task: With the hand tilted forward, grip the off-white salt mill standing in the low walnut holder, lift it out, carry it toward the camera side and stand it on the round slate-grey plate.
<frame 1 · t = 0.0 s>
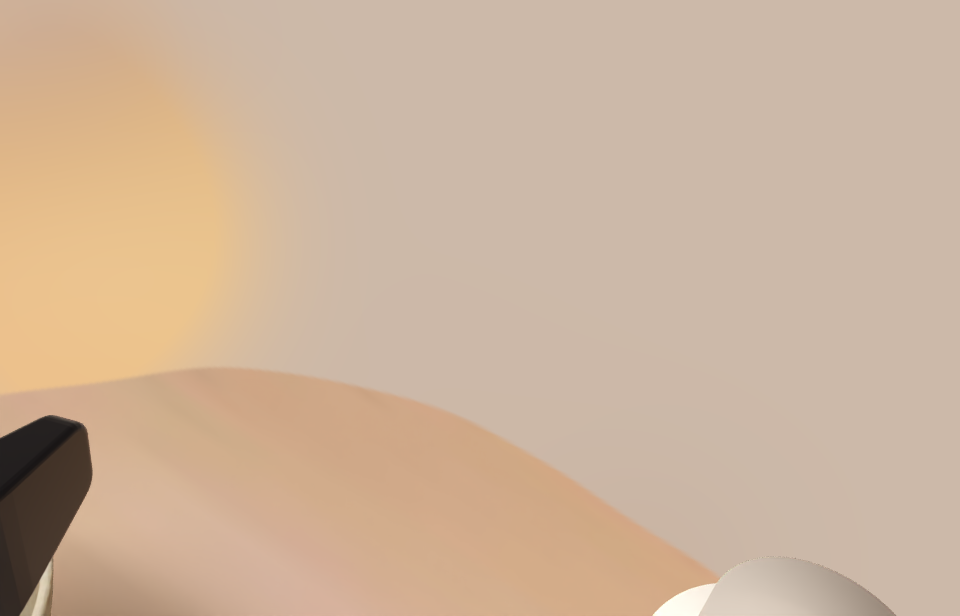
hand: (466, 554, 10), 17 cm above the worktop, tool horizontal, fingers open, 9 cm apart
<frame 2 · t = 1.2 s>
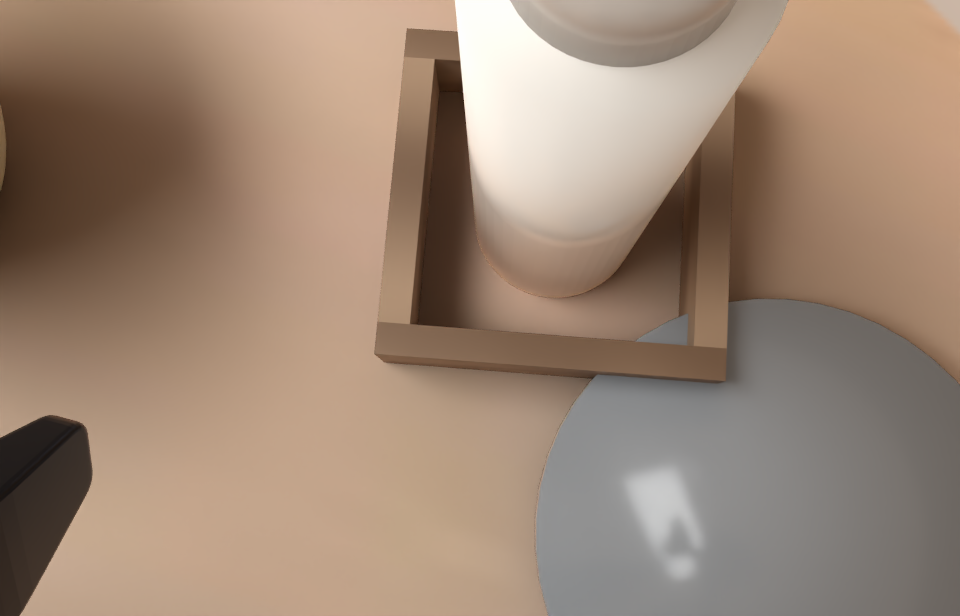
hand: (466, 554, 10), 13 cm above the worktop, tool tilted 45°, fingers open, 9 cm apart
holder: (554, 219, 24), on the worktop
plate: (766, 535, 23), on the worktop
salt mill: (579, 119, 17), in the holder
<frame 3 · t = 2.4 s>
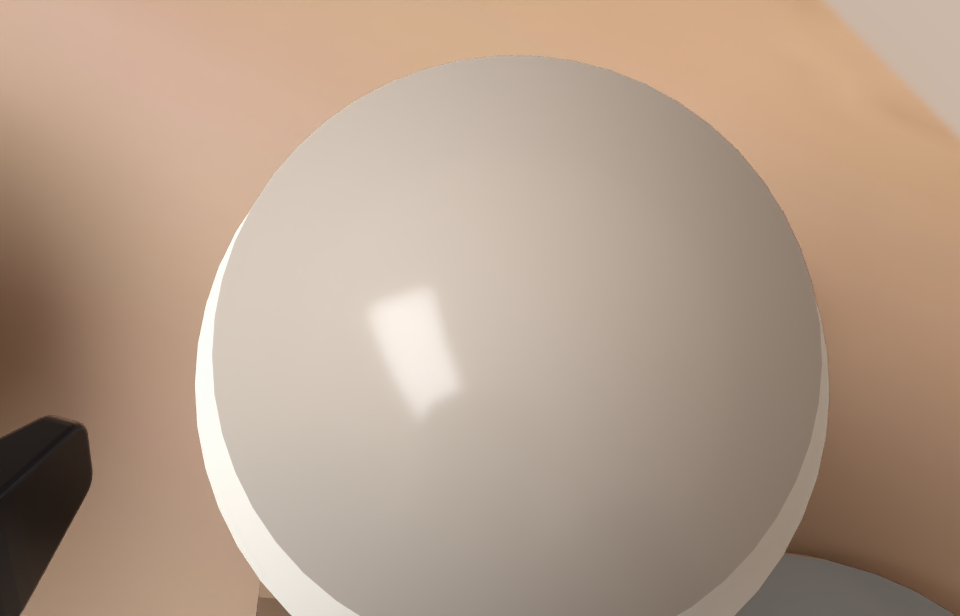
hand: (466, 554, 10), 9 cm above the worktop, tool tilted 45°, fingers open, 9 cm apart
holder: (499, 431, 19), on the worktop
salt mill: (502, 413, 12), in the holder
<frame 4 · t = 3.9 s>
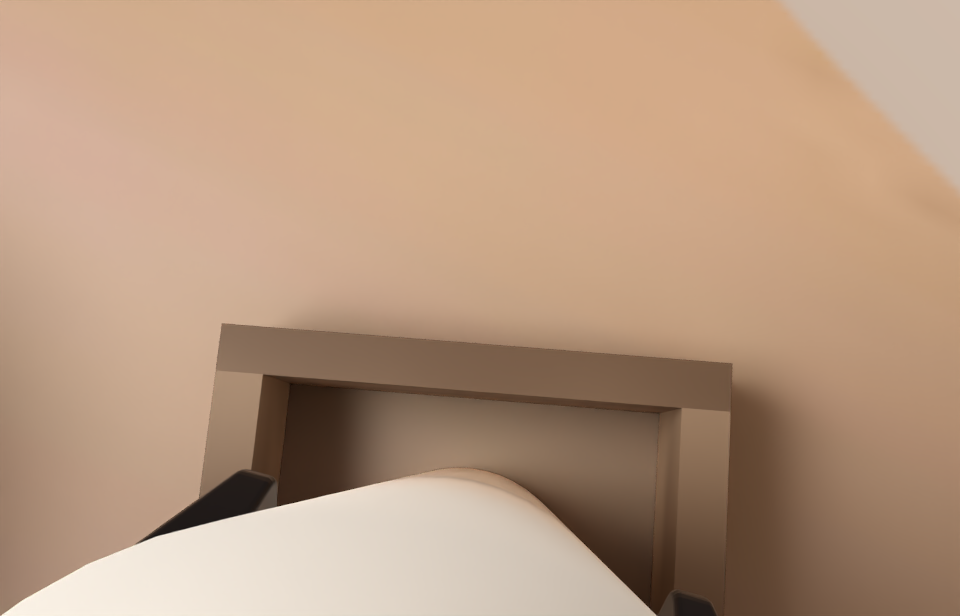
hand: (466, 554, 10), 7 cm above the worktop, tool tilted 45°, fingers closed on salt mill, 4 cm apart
holder: (458, 590, 16), on the worktop
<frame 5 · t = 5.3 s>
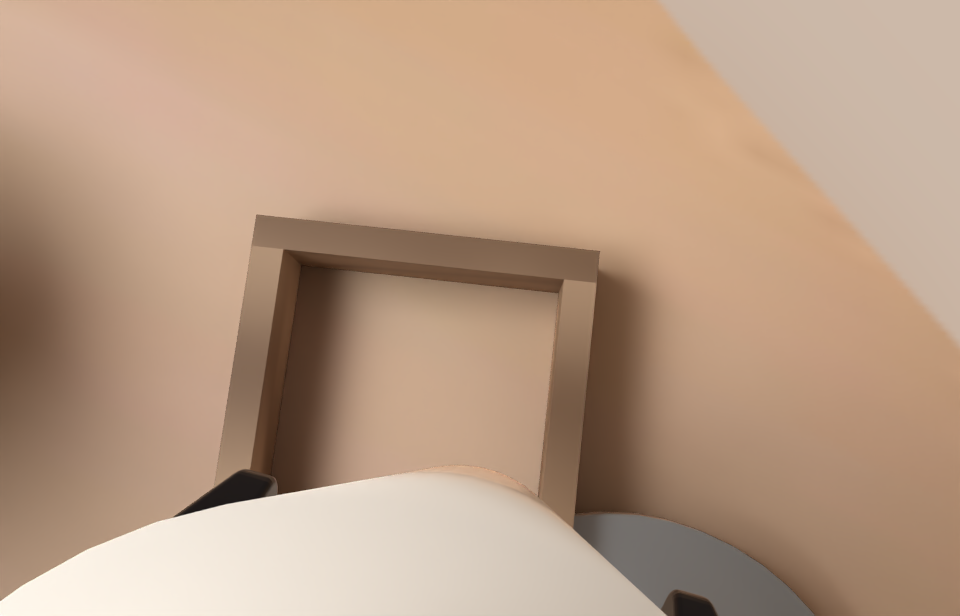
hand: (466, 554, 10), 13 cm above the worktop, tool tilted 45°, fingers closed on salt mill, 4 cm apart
holder: (413, 408, 23), on the worktop
when the fingers open (9 cm above the worktop, at t = 6.8 s): salt mill stays where it is, resting on plate.
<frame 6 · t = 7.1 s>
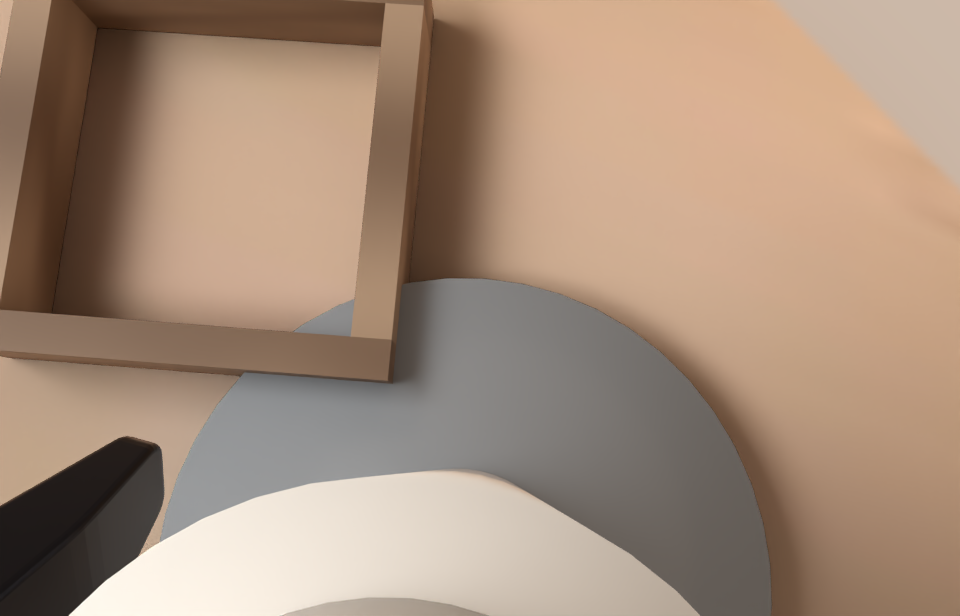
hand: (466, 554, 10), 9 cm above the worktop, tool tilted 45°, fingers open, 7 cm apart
holder: (227, 182, 20), on the worktop
plate: (463, 572, 18), on the worktop
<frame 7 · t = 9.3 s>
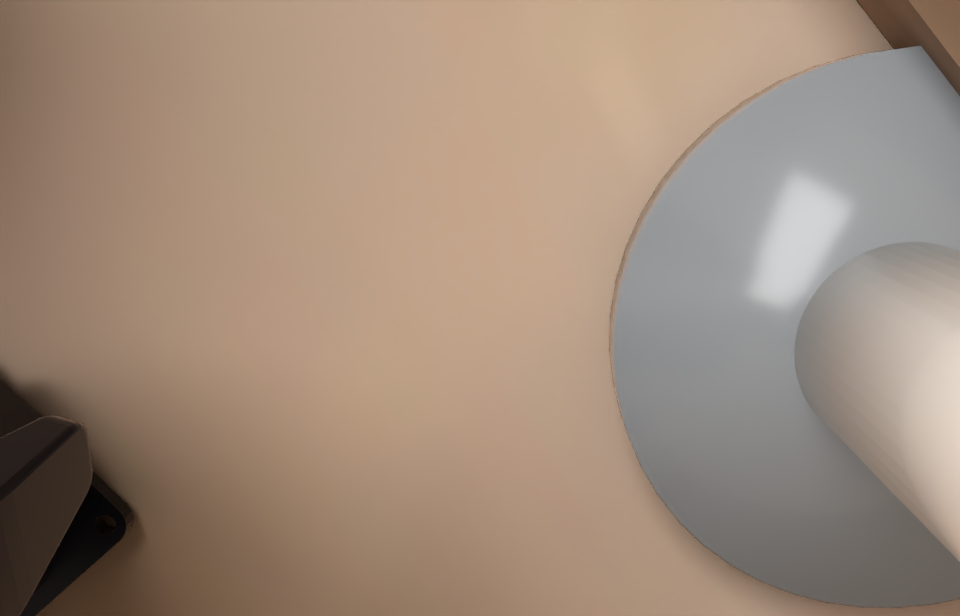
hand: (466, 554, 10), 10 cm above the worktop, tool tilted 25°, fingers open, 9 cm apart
plate: (883, 332, 19), on the worktop
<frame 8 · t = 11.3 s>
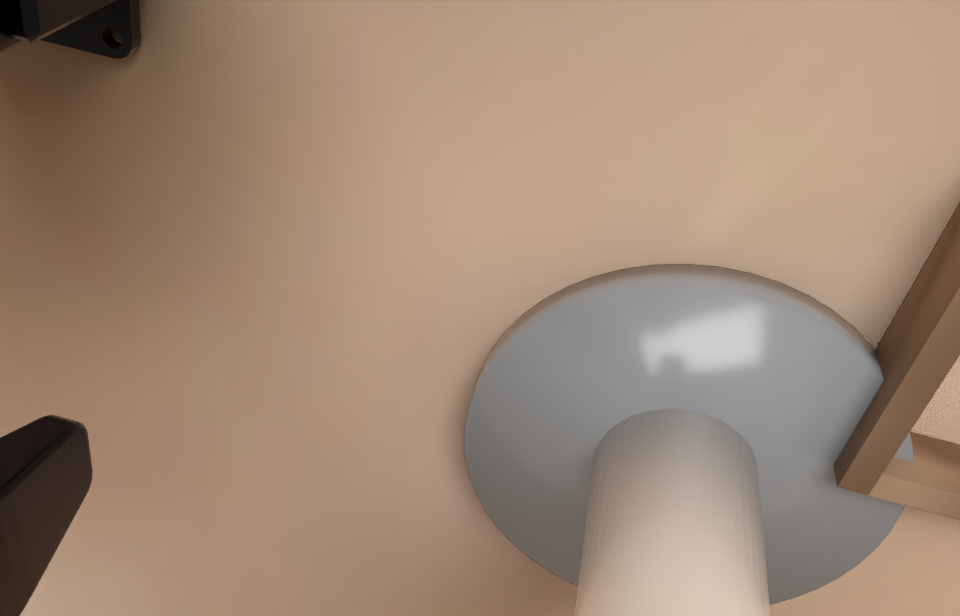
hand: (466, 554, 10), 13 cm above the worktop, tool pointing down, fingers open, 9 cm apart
plate: (676, 442, 25), on the worktop
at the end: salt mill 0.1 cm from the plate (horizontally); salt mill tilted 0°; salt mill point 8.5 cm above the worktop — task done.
